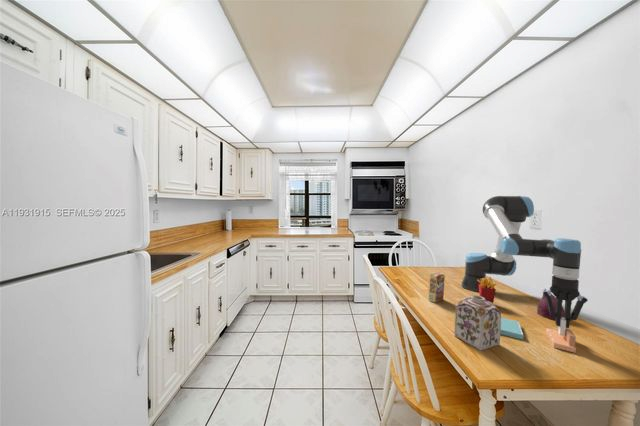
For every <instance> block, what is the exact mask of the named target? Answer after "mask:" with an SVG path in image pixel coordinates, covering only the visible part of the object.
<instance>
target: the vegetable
mask: <svg viewBox="0 0 640 426" xmlns="http://www.w3.org/2000/svg"><path fill="white" fill-rule="evenodd" d="M544 290H545V291H546V290H547V289H546V288H544ZM550 297H551V301H552V304H553V308H554V312H555V313H556V297H555V296H554V294H553V293H551V296H550ZM564 312H565V308H564V306H562V313H561V317H562V318H565V317H564ZM536 314H538V315H539V316H541V317H542V318H544V319H545V318H546V319H549V320H552V321H555V320H556V317H555V316H552V315H551V314H550V311H549V308H548V304H547V300H546V296H545V294H544V293H543V292H542V297H541V299H540V301H539V302H538V304H537V310H536Z"/></svg>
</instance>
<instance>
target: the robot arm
mask: <svg viewBox="0 0 640 426" xmlns="http://www.w3.org/2000/svg"><path fill="white" fill-rule="evenodd" d="M534 212H535V206H534V202H533V201H532V199H531V198H530V197H529V196H525V195H524V196H522V195H516V196H515V195H496V196H493V197H492V196H491V197H490V198H489V199H487V200H486V201H485V202H484V203H483V206H482V214H483V216H484V217H485V218H486V219H487V220H489V221H490V223H491V224H492V226H493V228H494V230H495V232H496V233H497V235H498V239H497V241H496V242H497V243H496V246H495V251H492V252H491V254H490V255H487V253H483V252H470V253H468V254H466V255H465V262H464V263H465V264H464V265H465V266H464V269H465V270H464V277H463V278H462V281H461V285H460V286H461V288H463V289H465V290H468V291H471V290H472V291H471V292H476V291H477V293H479V284H480V283H479V282H478V281H477V279H478V280H480V279H482V278H485V277H486V276H487V275H496V276H497V275H498V276H504V277H505V276H508V277H510V276H512V275H514V274H515V272H516V270H517V260H516V259H515V257H514V256H524V257H537V258H549V259H553V261H552V262H553V263H552V276H551V285H550V287H549V289H546V291H545V289H543V290H542V294H543V293H544V294H545V296H546V300H547V304H548V308H549V311H550V314H551V315H552V316H555V317H556V320H554V322H555V323H554V324H555V325H556V326H557V327H558V328H557V329H558V333H559V334H560V335H561V336H565V330H566V328H570V322H571V321H577V320H578V318H579V316H580V313H581V311H582V309H583V306H584V304H585V303H587V302H588V301H589V300H588V298H586V297H585V296H584V295H581V293H580V291H579V287H580V285H579V282H580V280H578V279H579V278H580V267H581V258H582V256H581V254H582V247H581V246H582V243H581V241H580V240H578V239H573V238H561V237H560V238H555V239H554V240H553V239H544V238H543V239H532V238H531V239H529V238H523V237H522V236H521V234H520V233H519V232H520V230H521V229H520V228H521V226H522V223H525V222H526V220H527V218H530V217H533V215H534ZM486 274H487V275H486ZM486 278H487V277H486ZM480 281H481V280H480ZM484 284H485V282H484ZM551 294H552V295H553V296H555V297H556V313H555V312H554V308H553V304H552V301H551V297H550V296H551ZM575 299H577V301H576V302H575V305H574V307H573V310H572V303H573V301H574V300H575ZM563 302H564V317H565V318H562V317H561V313H562V307H563ZM571 311H572V312H571Z"/></svg>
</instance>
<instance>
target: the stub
mask: <svg viewBox="0 0 640 426" xmlns="http://www.w3.org/2000/svg"><path fill="white" fill-rule="evenodd" d="M545 333H546V335H547V337H548V339H549V341H550V343H551V345H552V347H553V348H554V349H555V348H556V349H558V350H563V351H567V352H570V353H573V354H576V353H577V352H576V351H577V348H576V339H577V338H576V335H575V334H574V332H573V331H572V329H571V328H570V327H569V328H566V330H565V336H561V335H560V334H559V333H558V330H557V329H553V328H549V327H546V328H545Z"/></svg>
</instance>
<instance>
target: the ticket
mask: <svg viewBox="0 0 640 426" xmlns="http://www.w3.org/2000/svg"><path fill="white" fill-rule="evenodd" d="M500 335H502V336H507V337H511V338H515V339H517V340H523V341H524V332H523V330H522V327H521V325H520V322H519V321H518V320H514V319H510V318H504V317H501V331H500Z"/></svg>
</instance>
